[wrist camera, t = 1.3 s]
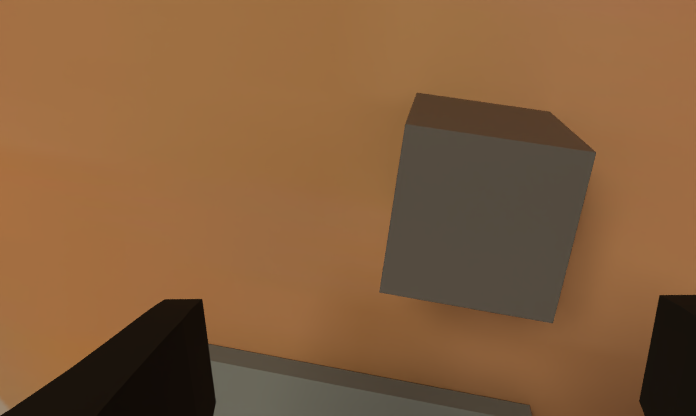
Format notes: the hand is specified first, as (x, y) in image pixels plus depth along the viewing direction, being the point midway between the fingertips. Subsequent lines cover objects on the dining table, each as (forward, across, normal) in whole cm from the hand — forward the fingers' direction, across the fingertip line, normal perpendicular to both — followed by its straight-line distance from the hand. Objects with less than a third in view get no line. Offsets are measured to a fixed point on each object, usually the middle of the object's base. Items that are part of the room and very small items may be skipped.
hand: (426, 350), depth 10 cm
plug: (+10, -2, 0) cm, 10 cm away
